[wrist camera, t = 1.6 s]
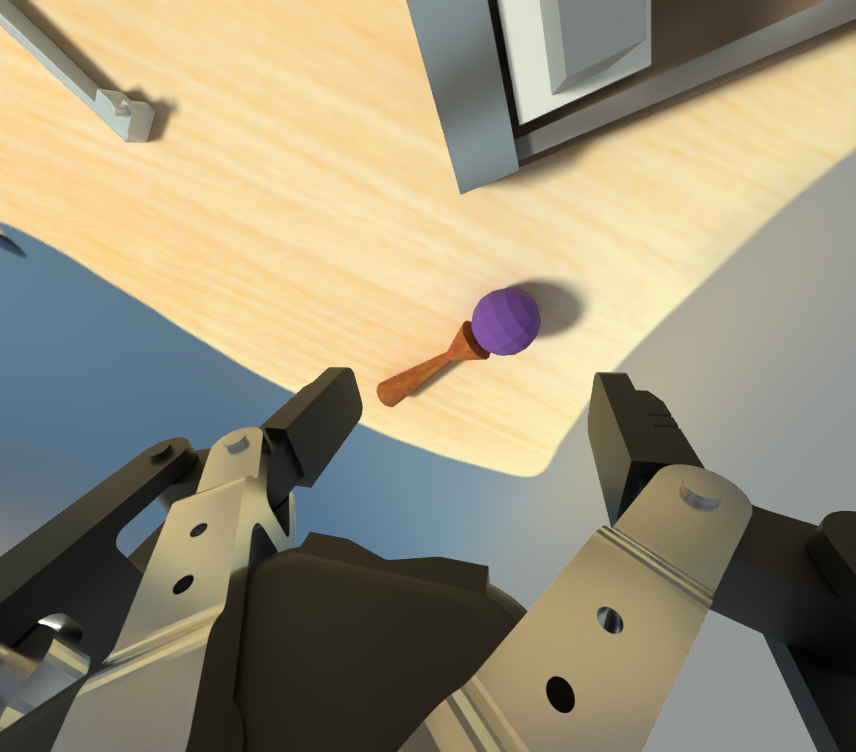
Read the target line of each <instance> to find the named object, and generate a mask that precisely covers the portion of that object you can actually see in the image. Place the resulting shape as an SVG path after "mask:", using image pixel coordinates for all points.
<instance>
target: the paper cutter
mask: <svg viewBox="0 0 856 752" xmlns="http://www.w3.org/2000/svg"><path fill="white" fill-rule="evenodd" d="M0 25H1V26H2V27H3V28H4V29H5V30H6V31H7V32H8V33H9V34H10V35H11V36H12V37H13V38H15V39H16V40H17V41H18V42H19V43H20V44H21V45H22V46H23V47H24V48H25V49H26V50H27V51H29V52H30V53H31V54H32V55H33V56H34V57H35V58H36V59H37V60H38V61H39V62H40V63H41V64H43V65H44V66H45V67H46V68H47V69H48V70H49V71H50V72H51V73H52V74H53V75H54V76H55V77H57V78H58V79H59V80H60V81H61V82H62V83H63V84H64V85H65V86H66V87H67V88H68V89H69V90H71V91H72V92H73V93H74V94H75V95H76V96H77V97H78V98H79V99H80V100H81V101H82V102H83V103H85V104H86V105H87V106H88V107H89V108H90V109H91V110H92V111H93V112H94V113H95V114H96V115H97V116H99V117H100V118H101V119H102V120H103V121H104V122H105V123H106V124H107V125H108V126H109V127H110V128H111V129H113V130H114V131H115V132H116V133H117V134H118V135H119V136H120V137H121V138H122V139H123V140H124V141H125V142H139V143H147V140H148V137H149V133H150V130H151V126H152V123H153V119H154V116H155V112H156V111H155V110H154V109H153V108H152V107H151V106H150V105H149V104H148V103H147V102H139V101H131V100H130V99H129V98H128V97H127V96H126V95H125V94H124V93H123V92H118V91H111V90H104V89H101V88H100V87H99V86H98V85H97V84H96V83H95V82H94V81H93V80H92V79H91V78H89V77H88V76H87V75H86V74H85V73H84V72H83V71H82V70H81V69H80V68H79V67H78V66H77V65H76V64H75V63H74V62H73V61H72V60H71V59H70V58H69V57H68V56H67V55H65V54H64V53H63V52H62V51H61V50H60V49H59V48H58V47H57V46H56V45H55V44H54V43H53V42H52V41H51V40H50V39H49V38H48V37H47V36H46V35H45V34H44V33H43V32H41V31H40V30H39V29H38V28H37V27H36V26H35V25H34V24H33V23H32V22H31V21H30V20H29V19H28V18H27V17H26V16H25V15H24V14H23V13H22V12H21V11H20V10H19V9H17V8H16V7H15V6H14V5H13V4H12V3H11V2H10V1H9V0H0Z"/></svg>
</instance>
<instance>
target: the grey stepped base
mask: <svg viewBox="0 0 856 752" xmlns="http://www.w3.org/2000/svg"><path fill="white" fill-rule="evenodd" d="M406 1H407V4H408V8H409V11H410V15H411V19H412V22H413V26H414V29H415V33H416V37H417V40H418V44H419V47H420V51H421V54H422V58H423V62H424V65H425V69H426V72H427V76H428V79H429V83H430V87H431V90H432V94H433V97H434V101H435V104H436V108H437V112H438V115H439V119H440V122H441V126H442V129H443V133H444V137H445V140H446V144H447V147H448V151H449V154H450V158H451V162H452V165H453V169H454V172H455V176H456V180H457V183H458V187H459V190H460V194H464V193H466V192H468V191H471V190H473V189H476V188H478V187H481V186H483V185H486V184H488V183H490V182H493V181H495V180H498V179H500V178H503V177H505V176H508V175H510V174H512V173H515V172H517V171H519V168H520V167H522V166H525V165H527V164H529V163H532V162H534V161H537V160H539V159H541V158H544V157H546V156H549V155H551V154H554V153H556V152H558V151H561V150H563V149H566V148H568V147H570V146H573V145H575V144H578V143H580V142H583V141H585V140H587V139H590V138H592V137H595V136H597V135H600V134H602V133H604V132H607V131H609V130H612V129H614V128H616V127H619V126H621V125H624V124H626V123H629V122H631V121H633V120H636V119H638V118H641V117H643V116H645V115H648V114H650V113H653V112H655V111H658V110H660V109H662V108H665V107H667V106H670V105H672V104H675V103H677V102H679V101H682V100H684V99H687V98H689V97H691V96H694V95H696V94H699V93H701V92H704V91H706V90H708V89H711V88H713V87H716V86H718V85H720V84H723V83H725V82H728V81H730V80H733V79H735V78H737V77H740V76H742V75H745V74H747V73H749V72H752V71H754V70H757V69H759V68H762V67H764V66H766V65H769V64H771V63H774V62H776V61H779V60H781V59H783V58H786V57H788V56H791V55H793V54H795V53H798V52H800V51H803V50H805V49H808V48H810V47H812V46H815V45H817V44H820V43H822V42H824V41H827V40H829V39H832V38H834V37H837V36H839V35H841V34H844V33H846V32H849V31H851V30H854V29H856V0H651V65H650V66H648V67H646V68H644V69H643V70H641V71H639V72H637V73H635V74H633V75H631V76H628V77H626V78H624V79H622V80H620V81H618V82H615V83H613V84H611V85H609V86H607V87H604V88H602V89H600V90H598V91H596V92H594V93H591V94H589V95H587V96H585V97H583V98H581V99H578V100H576V101H574V102H572V103H570V104H568V105H565V106H563V107H561V108H559V109H557V110H554V111H552V112H550V113H548V114H546V115H544V116H541V117H539V118H537V119H535V120H533V121H531V122H528V123H526V124H524V125H522V126H520V127H519V125H518V120H517V114H516V109H515V103H514V97H513V92H512V86H511V80H510V75H509V69H508V64H507V58H506V52H505V47H504V41H503V36H502V30H501V24H500V19H499V13H498V8H497V2H496V0H406Z"/></svg>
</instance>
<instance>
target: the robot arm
mask: <svg viewBox="0 0 856 752" xmlns="http://www.w3.org/2000/svg"><path fill="white" fill-rule="evenodd" d="M362 409H363V406H362V401H361V397H360V393H359V390H358V386H357V383H356V379H355V375H354V372H353V371H352V369H351V368H347V367H330V368H328V369H327V370H325V371H324V372H323V373H322V374H321V375H320V376H319V377H318V378H317V379H316V380H315V381H314V382H312V383H310V384H309V385H307V386H305V387H303V388H302V389H301V390H300V391H299V392H298V393H297V394H296V395H295V397H293V398H291V399H290V400H289V401H288V402H287V405H284V406H282V408H280V409H279V410H278V411H277V412H276V413H275V414H274V415H273V416H271V418H269V419H268V420H267V421H266V422H265V423H264V424H263V425H262V426H260V427H259V428H256V427H248V428H243V429H239V430H236V431H234V432H232V433H230V434H228V435H226V436H224V437H223V438H221V439H220V440H219V441H217V442H216V443H215V444H214V445H213V447H212V448H210V449H204V450H198V451H195V450H194V448H193V447H192V445H191V443H190V442H189V440H188V439H186V438H182V437H181V438H180V437H179V438H173V439H169V440H166V441H163V442H160V443H158V444H156V445H154V446H152V447H150V448H149V449H147V450H145V451H144V452H142V453H141V454H140V455H138V456H137V457H136V458H134V459H133V460H132V461H130V462H129V463H128V464H126V465H125V466H124V467H122V468H121V469H119V470H118V471H117V472H115V473H114V474H112V475H111V476H110V477H108V478H107V479H106V480H104V481H103V482H102V483H100V484H99V485H98V486H96V487H95V488H94V489H92V490H91V491H89V492H88V493H87V494H85V495H84V496H83V497H81V498H80V499H78V500H77V501H76V502H75V503H73V504H72V505H70V506H69V507H68V508H66V509H65V510H63V511H62V512H61V513H60V514H58V515H57V516H55V517H54V518H53V519H51V520H50V521H48V522H47V523H46V524H44V525H43V526H42V527H41V528H39V529H38V530H36V531H35V532H33V533H32V534H31V535H29V536H28V537H27V538H25V539H24V540H23V541H22V542H20V543H19V544H17V545H16V546H15V547H13V548H12V549H10V550H9V551H8V552H6V553H5V554H4V555H2V556H1V557H0V752H641V751H642V749H643V747H644V745H645V743H646V741H647V739H648V737H649V735H650V733H651V731H652V728H653V726H654V724H655V722H656V720H657V718H658V716H659V714H660V712H661V710H662V707H663V705H664V703H665V701H666V699H667V697H668V695H669V693H670V691H671V689H672V687H673V684H674V682H675V680H676V678H677V676H678V674H679V672H680V670H681V668H682V666H683V663H684V661H685V659H686V657H687V655H688V653H689V651H690V649H691V647H692V644H693V642H694V640H695V638H696V636H697V634H698V632H699V630H700V628H701V625H702V624H703V622H704V620H705V617H706V615H707V613H708V611H709V609H710V610H713V611H715V612H717V613H719V614H721V615H724V616H726V617H728V618H730V619H732V620H734V621H736V622H739V623H741V624H743V625H745V626H747V627H749V628H752V629H754V630H756V631H758V632H761V633H763V635H764V637H765V640H766V642H767V644H768V646H769V648H770V650H771V652H772V654H773V657H774V659H775V661H776V663H777V665H778V667H779V669H780V672H781V674H782V676H783V678H784V680H785V682H786V685H787V687H788V689H789V691H790V693H791V695H792V698H793V700H794V702H795V704H796V706H797V708H798V710H799V713H800V715H801V717H802V719H803V721H804V723H805V726H806V728H807V730H808V732H809V734H810V736H811V738H812V741H813V743H814V745H815V747H816V749H817V751H818V752H856V512H854V511H838V512H833V513H831V514H828V515H827V516H826V517H825V518H824V519H823V520H822V522H821V523H820V524H819V526H816V525H813V524H810V523H807V522H803V521H800V520H797V519H793V518H790V517H787V516H784V515H780V514H777V513H773V512H771V511H767V510H765V509H762V508H759V507H756V506H754V505H751V503H750V501H749V499H748V498H747V496H746V495H745V494H744V493H743V491H742V490H741V489H739V488H738V487H737V486H736V485H735V484H733V483H732V482H730V481H729V480H727V479H725V478H724V477H722V476H720V475H718V474H716V473H714V472H712V471H709V470H707V469H705V468H704V466H703V465H702V463H701V461H700V460H699V459H698V457H697V455H696V453H695V452H694V450H693V449H692V447H691V445H690V444H689V442H688V441H687V439H686V437H685V436H684V434H683V433H682V431H681V429H678V425H677V423H676V422H675V420H674V418H672V417H671V413H670V412H669V410H668V409H667V407H666V405H665V404H664V402H663V401H661V400H660V399H659V398H657V397H656V396H654V395H653V394H652V393H650V392H649V391H641V390H635V388H634V386H633V384H632V382H631V380H630V379H629V377H628V375H627V374H626V373H609V372H597V373H596V374H595V376H594V381H593V388H592V394H591V401H590V407H589V414H588V434H589V439H590V442H591V447H592V451H593V455H594V459H595V463H596V467H597V471H598V475H599V480H600V484H601V488H602V492H603V495H604V500H605V504H606V508H607V512H608V517H609V521H610V525H611V529H609V528H608V527H606V526H602V527H601V528H600V529H598V530H597V531H596V532H595V533H594V534H593V535H592V537H591V538H590V539H589V540H588V541H587V542H586V544H585V545H584V546H583V547H582V549H581V550H580V551H579V552H578V553H577V554H576V555H575V557H574V558H573V559H572V560H571V562H570V563H569V564H568V565H567V566H566V567H565V568H564V570H563V571H562V572H561V573H560V574H559V576H558V577H557V578H556V579H555V581H554V582H553V583H552V584H551V585H550V586H549V587H548V589H547V590H546V591H545V592H544V593H543V594H542V596H541V597H540V598H539V599H538V600H537V602H536V603H535V604H534V605H533V606H532V607H531V609H530V610H529V611H527V610H526V609H525V608H524V607H523V606H522V605H520V604H519V603H518V602H517V601H516V600H515V599H513V598H512V597H511V596H510V595H508V594H507V593H505V592H504V591H502V590H501V589H499V588H497V587H495V586H493V585H492V584H490V583H489V568H488V566H484V565H478V564H474V563H469V562H464V561H458V560H453V559H448V558H443V557H427V558H413V559H400V560H386V559H383V558H381V557H380V556H378V555H376V554H374V553H372V552H371V551H369V550H367V549H365V548H363V547H361V546H360V545H358V544H356V543H354V542H353V541H351V540H349V539H345V538H340V537H334V536H330V535H324V534H319V533H314V532H309V534H308V536H307V537H306V539H305V540H304V542H303V544H302V545H301V546H300V547H296V535H295V500H294V495H293V493H292V489H293V488H294V486H295V485H296V486H303V487H310V488H311V487H312V486H313V484H314V483H315V482H316V480H317V479H318V477H319V476H320V475H321V473H322V472H323V470H324V469H325V468H326V466H327V465H328V463H329V462H330V461H331V459H332V457H333V456H334V455H335V453H336V452H337V451H338V449H339V448H340V446H341V445H342V444H343V442H344V441H345V439H346V438H347V437H348V435H349V434H350V432H351V431H352V429H353V428H354V427H355V425H356V424H357V423H358V421H359V420H360V418H361V415H362ZM154 499H157V500H158V501H159V503H160V504H161V505H162V506H163V508H164V509H165V510H166V511H167V512H168V516H167V519H166V520H165V521H164V522H163V523H162V524H161V525H160V526H159V527H158V528H157V529H156V530H155V531H154V532H153V533H152V534H151V535H150V536H149V537H148V538H147V539H146V540H145V541H144V542H143V543H142V544H141V545H140V546H139V547H138V548H137V549H136V550H135V551H134V552H133V553H132V554H131V555H130V556H129V557H128V558H126V557H125V556H124V555H123V554H122V553H121V552H120V551H119V550H118V549H117V546H116V539H117V536H118V534H119V532H120V531H121V530H122V528H123V527H124V526H125V525H126V524H128V523H129V522H130V521H131V520H132V519H133V518H134V517H135V516H136V515H138V513H140V512H141V511H142V510H143V509H144V508H145V507H147V506H148V505H149V504H150V503H151V502H152V501H153V500H154ZM38 621H39V623H37V622H38ZM112 651H113V653H112V655H111V656H110V658H109V660H108V661H106V662H104V663H103V661H104V660H105V659H106V658H107V657H108V656H109V654H110V653H111V652H112ZM102 663H103V664H102Z"/></svg>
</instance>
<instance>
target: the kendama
mask: <svg viewBox="0 0 856 752" xmlns="http://www.w3.org/2000/svg"><path fill="white" fill-rule="evenodd" d="M540 324H541V319H540V314H539V309H538V306H537V304H536V303H535V301H534V300H533V299H532V298H531V297H529V296H528V295H527V294H526V293H524V292H523V291H521V290H517V289H512V288H505V289H500V290H496V291H492V292H491V293H489V294H488V295H486V296H485V297H483V298H482V299H481V300H480V302H479V303H478V305H477V306H476V308H475V310H474V313H473V317H472V322H470V321H465V322H464V323H463V325H462V326H461V328H460V330H459V332H458V333H457V335H456V337H455V339H454V340H453V342H452V344H451V346H450V347H449V349H448V351H447V352H446V353H443V354H441V355H439V356H437V357H435V358H433V359H431V360H428V361H426V362H424V363H422V364H420V365H418V366H415V367H413V368H411V369H409V370H407V371H405V372H403V373H400V374H398V375H396V376H394V377H392V378H390V379H388V380H385V381H383V382H381V383H379V385H378V386H377V395H378V398H379V399H380V401H381V402H382V403H383V404H384V405H386V406H388V407H394V406H395V405H396V404H398V403H399V402H400V401H402V400H403V399H404V398H405V397H407V396H408V395H409V394H411V393H412V392H413V391H414V390H416V389H417V388H418V387H420V386H421V385H422V384H423V383H425V382H426V381H427V380H429V379H430V378H431V377H432V376H434V375H435V374H436V373H438V372H439V371H440V370H441V369H443V368H444V367H445V366H447V365H448V364H449V363H450V362H452V361H461V360H483V359H488V358H489V356H490V352H491V353H493V354H496V355H501V356H505V355H515V354H517V353H519V352H520V351H522V350H524V349H526V348H527V347H528V346H529V345H530V344H531V343H532V341H533V340H534V339H535V338H536V336H537V334H538V331H539V327H540Z"/></svg>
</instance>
